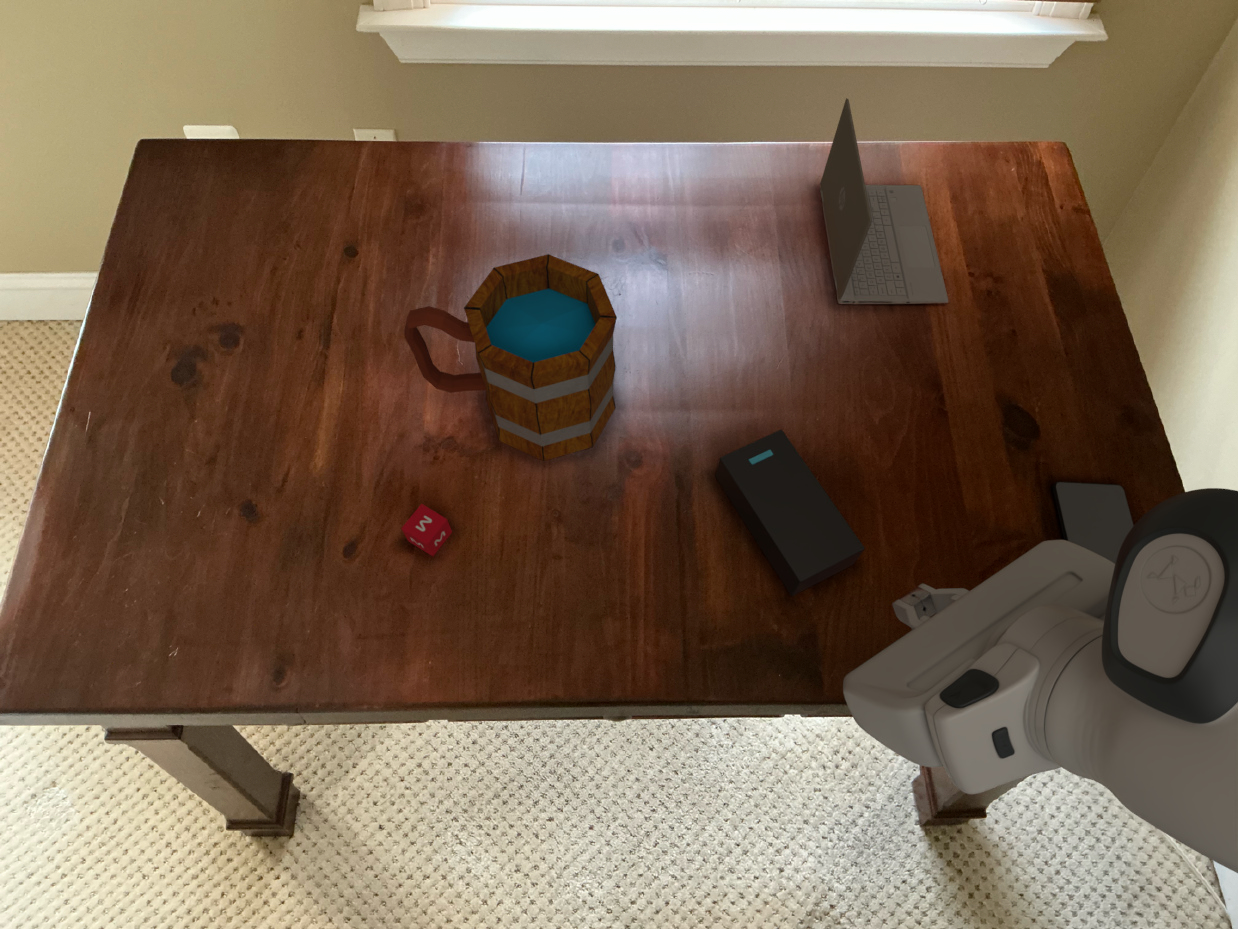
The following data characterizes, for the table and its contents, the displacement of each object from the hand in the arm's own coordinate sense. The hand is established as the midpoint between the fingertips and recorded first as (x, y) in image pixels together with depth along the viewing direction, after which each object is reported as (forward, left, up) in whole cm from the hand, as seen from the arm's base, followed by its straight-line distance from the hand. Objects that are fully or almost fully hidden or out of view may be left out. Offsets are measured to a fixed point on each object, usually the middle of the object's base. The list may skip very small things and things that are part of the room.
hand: (908, 600), depth 63 cm
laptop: (+30, -38, -13) cm, 50 cm away
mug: (+41, +7, -13) cm, 43 cm away
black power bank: (+6, -2, -11) cm, 13 cm away
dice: (+35, +23, -13) cm, 43 cm away
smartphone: (-10, -24, -13) cm, 28 cm away
